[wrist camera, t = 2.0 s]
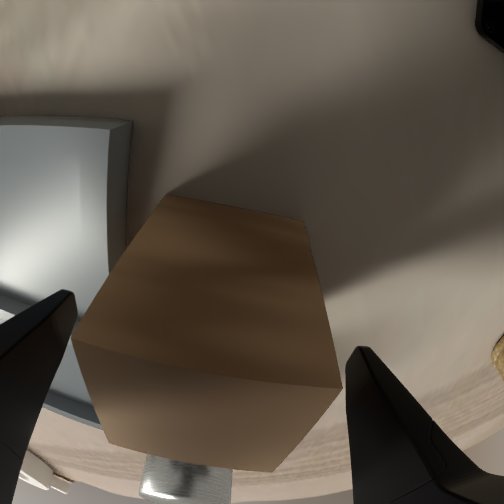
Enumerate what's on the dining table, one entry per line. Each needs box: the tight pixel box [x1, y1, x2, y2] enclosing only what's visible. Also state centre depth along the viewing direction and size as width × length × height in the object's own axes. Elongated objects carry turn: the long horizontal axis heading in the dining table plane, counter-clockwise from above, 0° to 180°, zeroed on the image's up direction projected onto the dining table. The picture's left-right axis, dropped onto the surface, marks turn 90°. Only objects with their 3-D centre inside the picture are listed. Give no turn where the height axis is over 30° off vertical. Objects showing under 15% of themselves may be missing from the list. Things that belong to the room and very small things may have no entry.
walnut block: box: [71, 194, 343, 472], centre depth 9 cm, size 5×5×7 cm
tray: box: [0, 116, 133, 430], centre depth 13 cm, size 12×20×2 cm, turn 168°
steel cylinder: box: [139, 454, 233, 504], centre depth 14 cm, size 5×5×7 cm
